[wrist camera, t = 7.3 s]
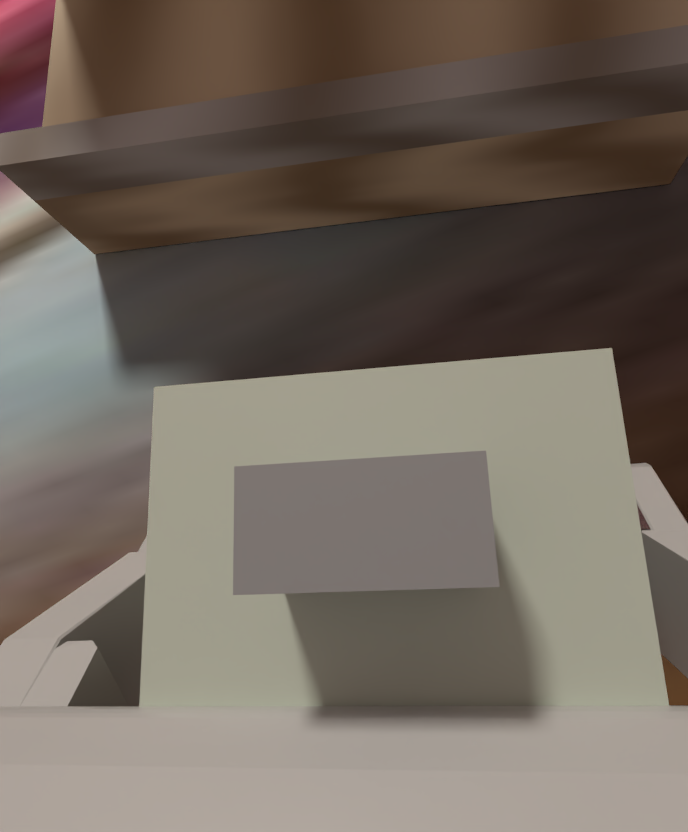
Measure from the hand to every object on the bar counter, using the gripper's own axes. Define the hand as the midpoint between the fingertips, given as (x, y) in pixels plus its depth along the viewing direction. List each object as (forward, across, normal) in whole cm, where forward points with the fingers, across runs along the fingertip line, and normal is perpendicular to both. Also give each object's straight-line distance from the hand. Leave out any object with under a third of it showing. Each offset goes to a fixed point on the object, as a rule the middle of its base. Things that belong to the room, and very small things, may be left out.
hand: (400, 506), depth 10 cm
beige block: (+4, 0, +4) cm, 6 cm away
